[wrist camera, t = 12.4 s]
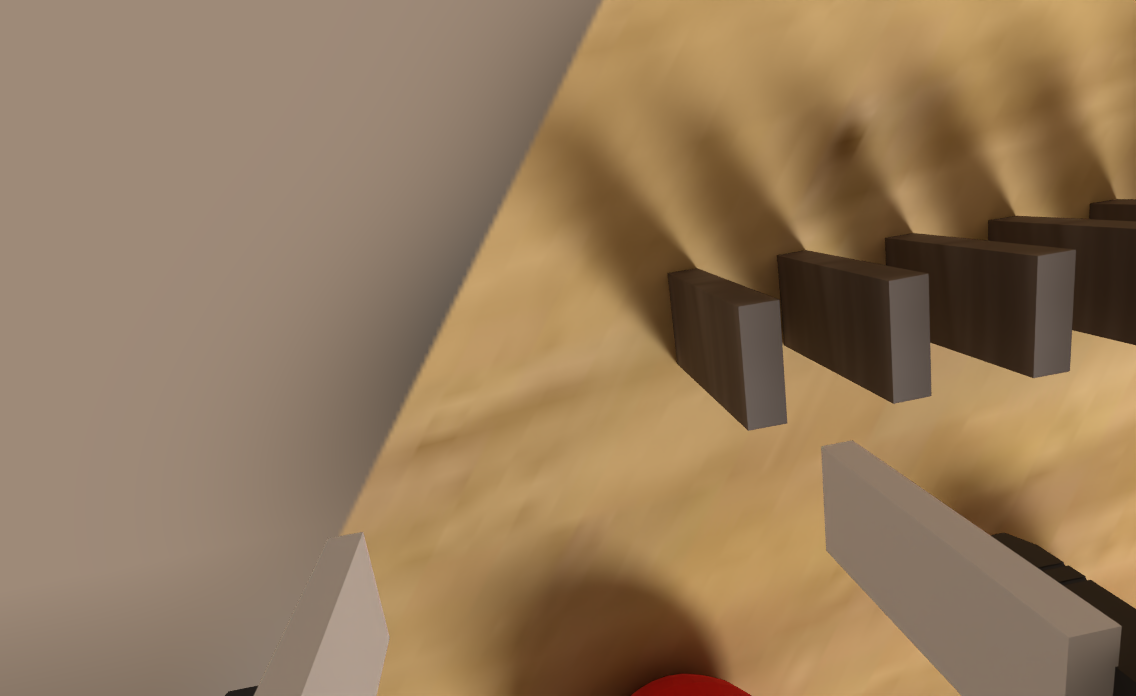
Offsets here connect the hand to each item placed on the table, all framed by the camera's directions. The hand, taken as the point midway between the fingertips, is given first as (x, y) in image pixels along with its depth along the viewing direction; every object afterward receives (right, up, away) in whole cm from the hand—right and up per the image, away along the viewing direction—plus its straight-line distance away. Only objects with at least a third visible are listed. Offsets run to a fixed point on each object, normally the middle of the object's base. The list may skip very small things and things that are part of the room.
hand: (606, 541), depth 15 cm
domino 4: (+23, +9, +21) cm, 33 cm away
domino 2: (+11, +7, +20) cm, 24 cm away
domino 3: (+17, +8, +21) cm, 28 cm away
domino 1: (+5, +6, +20) cm, 21 cm away
